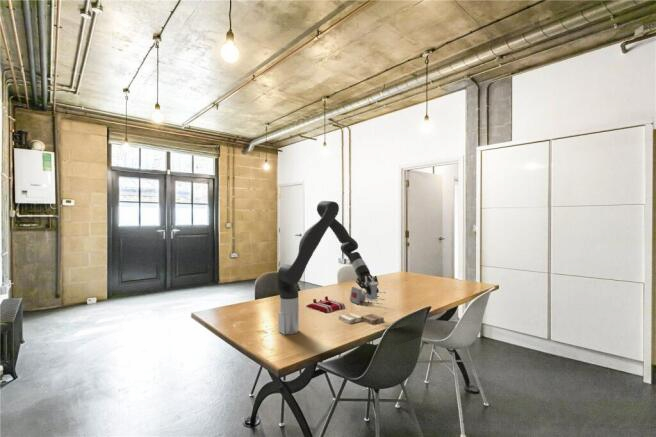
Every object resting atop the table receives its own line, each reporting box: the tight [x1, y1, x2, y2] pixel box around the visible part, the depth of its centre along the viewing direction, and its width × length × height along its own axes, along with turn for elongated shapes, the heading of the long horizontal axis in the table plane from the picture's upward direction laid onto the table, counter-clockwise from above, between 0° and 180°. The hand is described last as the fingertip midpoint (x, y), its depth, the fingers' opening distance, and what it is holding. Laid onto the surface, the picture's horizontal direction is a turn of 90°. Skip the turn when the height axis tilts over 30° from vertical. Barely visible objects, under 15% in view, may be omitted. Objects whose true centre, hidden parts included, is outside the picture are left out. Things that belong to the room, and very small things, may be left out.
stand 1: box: [338, 312, 363, 324], centre depth 179 cm, size 9×9×2 cm
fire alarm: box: [305, 296, 346, 314], centre depth 206 cm, size 16×6×20 cm
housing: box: [365, 281, 379, 302], centre depth 178 cm, size 5×5×10 cm
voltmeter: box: [349, 286, 386, 306], centre depth 214 cm, size 27×11×10 cm, turn 61°
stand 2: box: [360, 313, 385, 325], centre depth 178 cm, size 9×9×2 cm
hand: (373, 293), depth 176 cm, fingers closed on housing, 4 cm apart
